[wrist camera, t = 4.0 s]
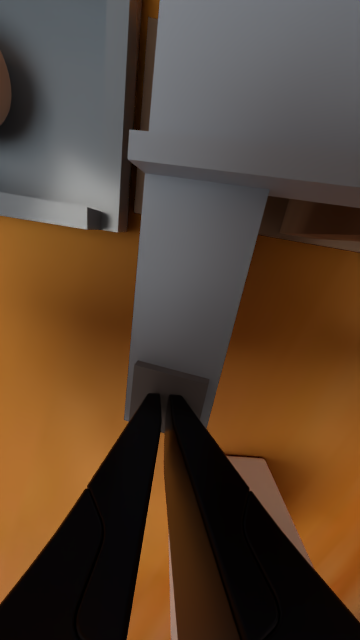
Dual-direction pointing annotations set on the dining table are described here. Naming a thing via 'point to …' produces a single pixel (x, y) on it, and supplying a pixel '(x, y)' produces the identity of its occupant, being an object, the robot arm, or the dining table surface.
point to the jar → (272, 501)
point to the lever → (231, 168)
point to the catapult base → (280, 213)
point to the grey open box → (69, 110)
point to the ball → (4, 90)
